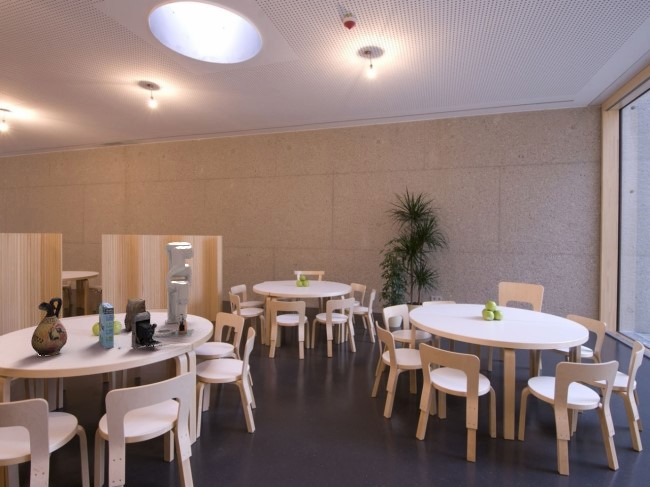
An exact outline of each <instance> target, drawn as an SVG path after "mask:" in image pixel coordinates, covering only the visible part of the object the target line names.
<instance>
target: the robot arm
mask: <svg viewBox="0 0 650 487" xmlns="http://www.w3.org/2000/svg"><path fill="white" fill-rule="evenodd" d="M164 251H165V254H166V256H167V259H168V260H167V262H168V267H167V269H168V270H167V271H168V273H167V274H166V278H165V287H166V294H167V296H166V299H167V300H166V302H167V306H166V307H167V315H166V316H167V319H166V320H164V322H165V324H178V322H179V331H185V325H184V321H187V317H188V305H189V304H190V291H191V289H192V279H193V278H192V273H193V272H192V266H191V265H190V264H187V263H186V260H187V259H193V258H194V254H195V253H194V252H195V251H194V248H193V246H192V244H191V243H190V242H169V243H166V244H165V246H164Z"/></svg>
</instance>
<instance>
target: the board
mask: <svg viewBox="0 0 650 487" xmlns="http://www.w3.org/2000/svg"><path fill="white" fill-rule="evenodd" d="M175 330H176V333H175V335H172V336H168V337H154V336H152V339H154V340H157V339H171V338H174V339H175V338H189V337H190V338H191V337H192V335H193V332H194V331H195V329H194V328H192V329H187V333H185V334H178V329H175Z"/></svg>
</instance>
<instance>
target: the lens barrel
mask: <svg viewBox="0 0 650 487" xmlns="http://www.w3.org/2000/svg"><path fill="white" fill-rule="evenodd" d="M176 330H177V329H176V328H175V329H174V328H159V329H155V333H154V335H153V336H154V337H168V336H172V335H175V333H176Z"/></svg>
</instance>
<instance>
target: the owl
mask: <svg viewBox="0 0 650 487" xmlns="http://www.w3.org/2000/svg"><path fill="white" fill-rule="evenodd" d="M125 309H126V310H125V316H124V327H125V331H126V332H127V333H130V332H132V315H134V313H135V314H139V313H144V312H146V311H147V309H146V299H141V298H139V299H132V298H128V299H127V303H126V307H125Z"/></svg>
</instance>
